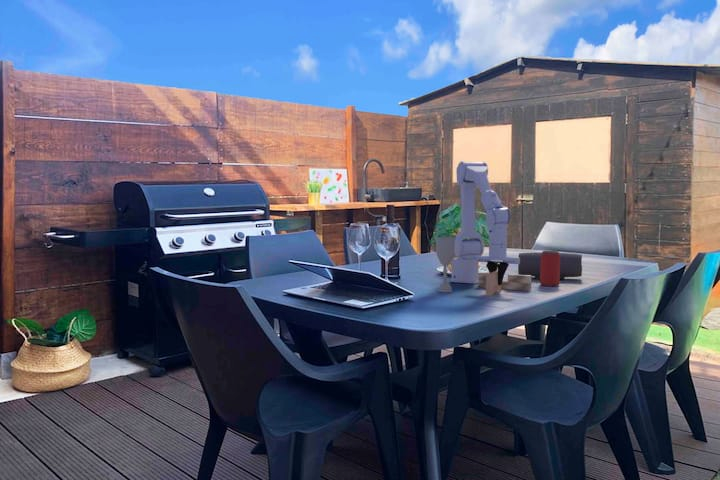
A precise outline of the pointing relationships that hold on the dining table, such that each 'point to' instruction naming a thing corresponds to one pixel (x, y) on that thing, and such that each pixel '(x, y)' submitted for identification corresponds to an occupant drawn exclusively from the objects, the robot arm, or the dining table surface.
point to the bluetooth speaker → (568, 264)
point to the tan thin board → (492, 283)
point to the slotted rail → (509, 281)
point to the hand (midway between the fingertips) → (497, 284)
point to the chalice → (445, 258)
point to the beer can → (550, 268)
